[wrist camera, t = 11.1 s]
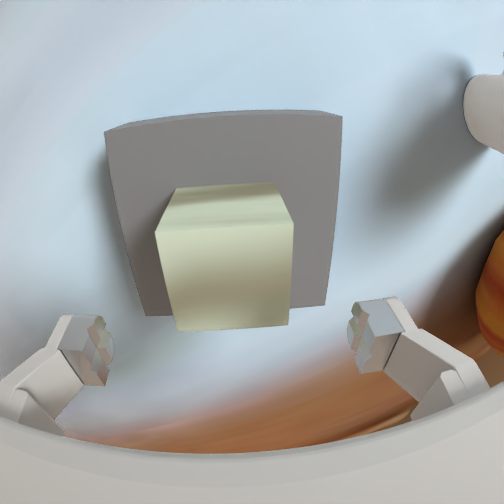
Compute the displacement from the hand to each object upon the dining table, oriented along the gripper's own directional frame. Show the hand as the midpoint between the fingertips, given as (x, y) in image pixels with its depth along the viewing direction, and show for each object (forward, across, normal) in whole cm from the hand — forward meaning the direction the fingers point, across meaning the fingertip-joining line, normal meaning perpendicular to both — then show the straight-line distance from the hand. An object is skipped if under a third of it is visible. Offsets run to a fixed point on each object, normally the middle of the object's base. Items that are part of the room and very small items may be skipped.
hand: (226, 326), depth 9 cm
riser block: (+12, 0, +1) cm, 12 cm away
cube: (+8, 0, +1) cm, 8 cm away
